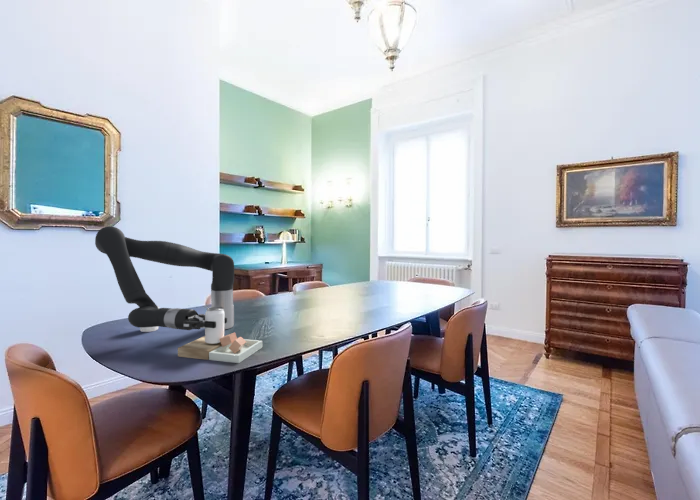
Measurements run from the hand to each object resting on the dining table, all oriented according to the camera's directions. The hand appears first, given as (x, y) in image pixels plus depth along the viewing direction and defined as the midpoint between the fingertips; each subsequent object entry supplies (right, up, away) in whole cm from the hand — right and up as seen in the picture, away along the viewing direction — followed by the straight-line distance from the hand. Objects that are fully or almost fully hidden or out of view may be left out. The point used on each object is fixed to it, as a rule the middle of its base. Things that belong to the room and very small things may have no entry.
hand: (221, 322), depth 121 cm
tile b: (+5, -7, -1) cm, 9 cm away
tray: (+6, -11, -1) cm, 12 cm away
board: (-5, -11, +2) cm, 12 cm away
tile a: (+3, -7, 0) cm, 8 cm away
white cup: (-42, -9, +27) cm, 51 cm away
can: (-3, -7, +1) cm, 8 cm away
